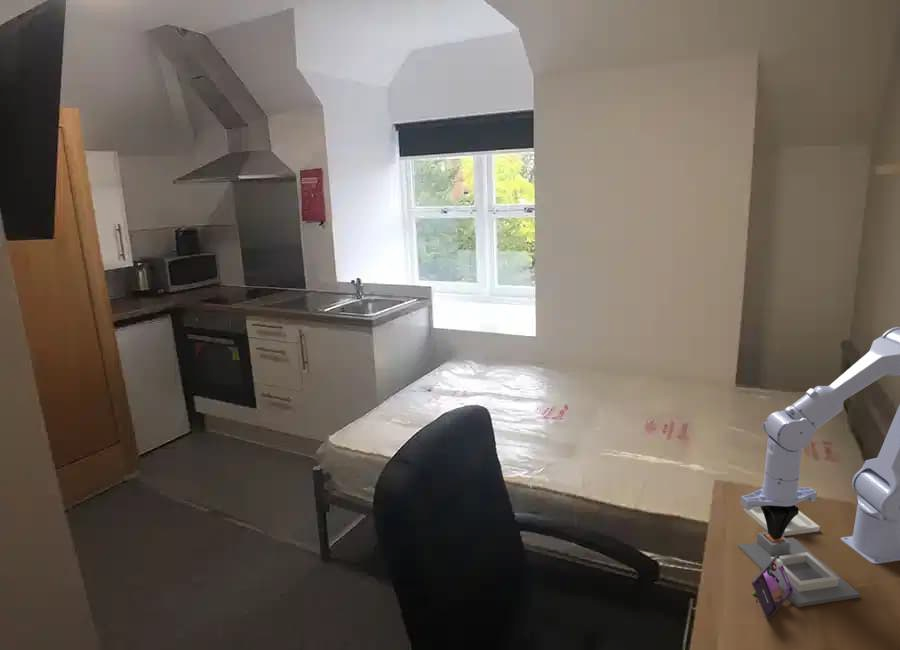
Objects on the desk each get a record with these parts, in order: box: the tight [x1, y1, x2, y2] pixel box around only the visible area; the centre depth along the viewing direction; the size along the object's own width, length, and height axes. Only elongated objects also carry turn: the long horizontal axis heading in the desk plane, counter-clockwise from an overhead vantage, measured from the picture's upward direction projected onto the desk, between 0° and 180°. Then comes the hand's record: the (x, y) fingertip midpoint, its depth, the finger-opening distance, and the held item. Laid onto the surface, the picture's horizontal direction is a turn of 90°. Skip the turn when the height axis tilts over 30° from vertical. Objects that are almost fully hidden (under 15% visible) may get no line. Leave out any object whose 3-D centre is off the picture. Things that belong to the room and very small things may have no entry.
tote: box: [743, 506, 821, 537], centre depth 123 cm, size 10×10×1 cm
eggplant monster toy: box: [751, 555, 793, 620], centre depth 101 cm, size 7×5×9 cm
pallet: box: [737, 531, 861, 608], centre depth 108 cm, size 12×16×3 cm
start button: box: [765, 534, 783, 543], centre depth 114 cm, size 2×2×2 cm
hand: (774, 535), depth 113 cm, fingers closed
